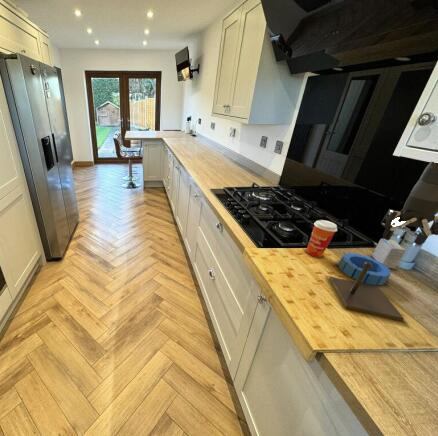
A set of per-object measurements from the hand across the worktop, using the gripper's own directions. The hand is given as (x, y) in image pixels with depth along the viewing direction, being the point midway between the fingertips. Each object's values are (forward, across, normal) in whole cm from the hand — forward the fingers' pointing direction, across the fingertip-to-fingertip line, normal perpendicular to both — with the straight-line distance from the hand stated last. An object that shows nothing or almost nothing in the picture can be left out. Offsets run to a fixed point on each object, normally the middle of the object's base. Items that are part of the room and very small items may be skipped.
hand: (401, 241), depth 79 cm
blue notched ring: (+15, -6, 0) cm, 16 cm away
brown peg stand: (+15, -12, -16) cm, 25 cm away
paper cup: (+15, -20, +8) cm, 26 cm away
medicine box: (+15, +5, +11) cm, 20 cm away
